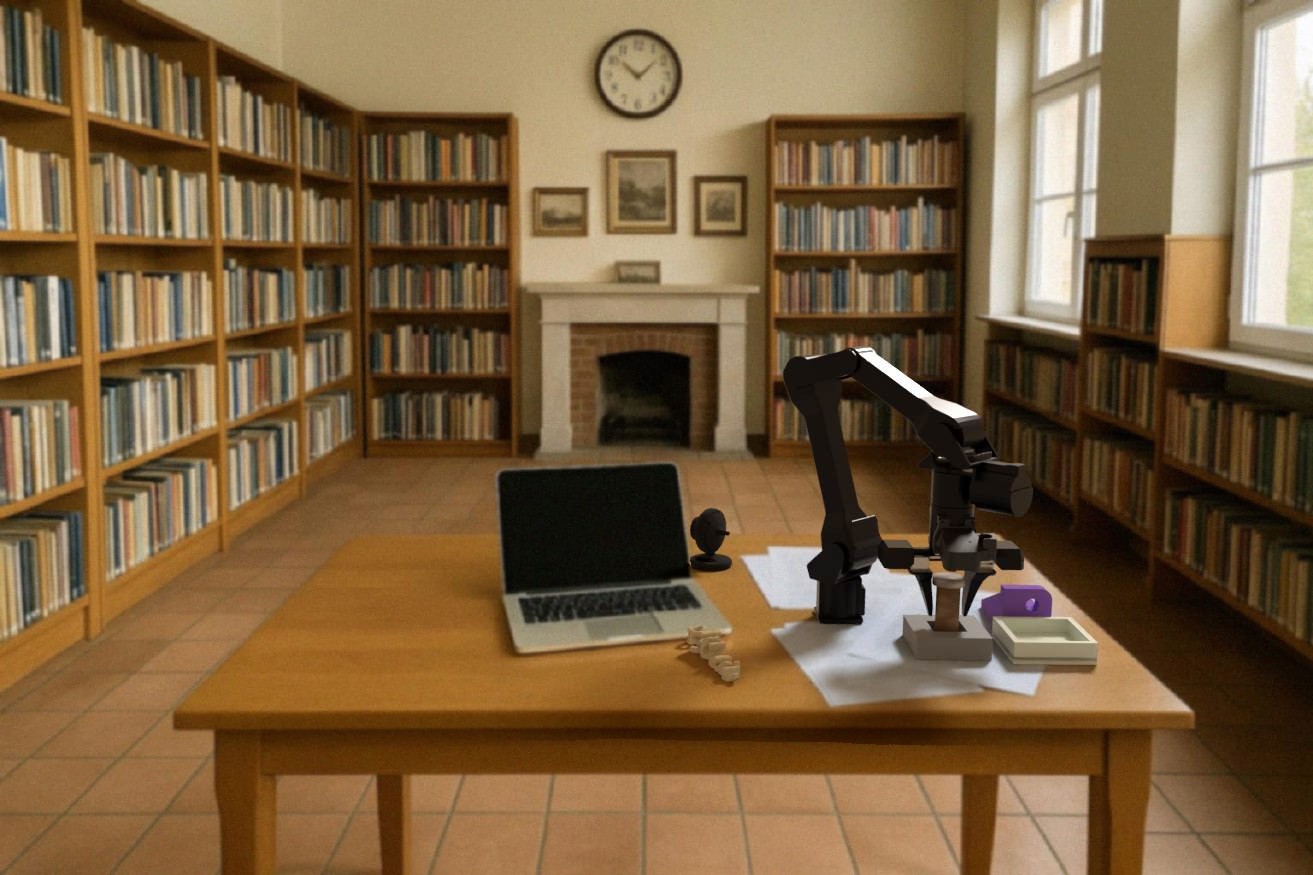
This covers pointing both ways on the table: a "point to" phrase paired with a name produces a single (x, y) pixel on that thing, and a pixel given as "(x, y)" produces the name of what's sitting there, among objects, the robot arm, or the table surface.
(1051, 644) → the tray
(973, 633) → the holder
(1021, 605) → the bracket
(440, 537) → the table surface
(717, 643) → the decorative script
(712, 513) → the webcam
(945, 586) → the peg
